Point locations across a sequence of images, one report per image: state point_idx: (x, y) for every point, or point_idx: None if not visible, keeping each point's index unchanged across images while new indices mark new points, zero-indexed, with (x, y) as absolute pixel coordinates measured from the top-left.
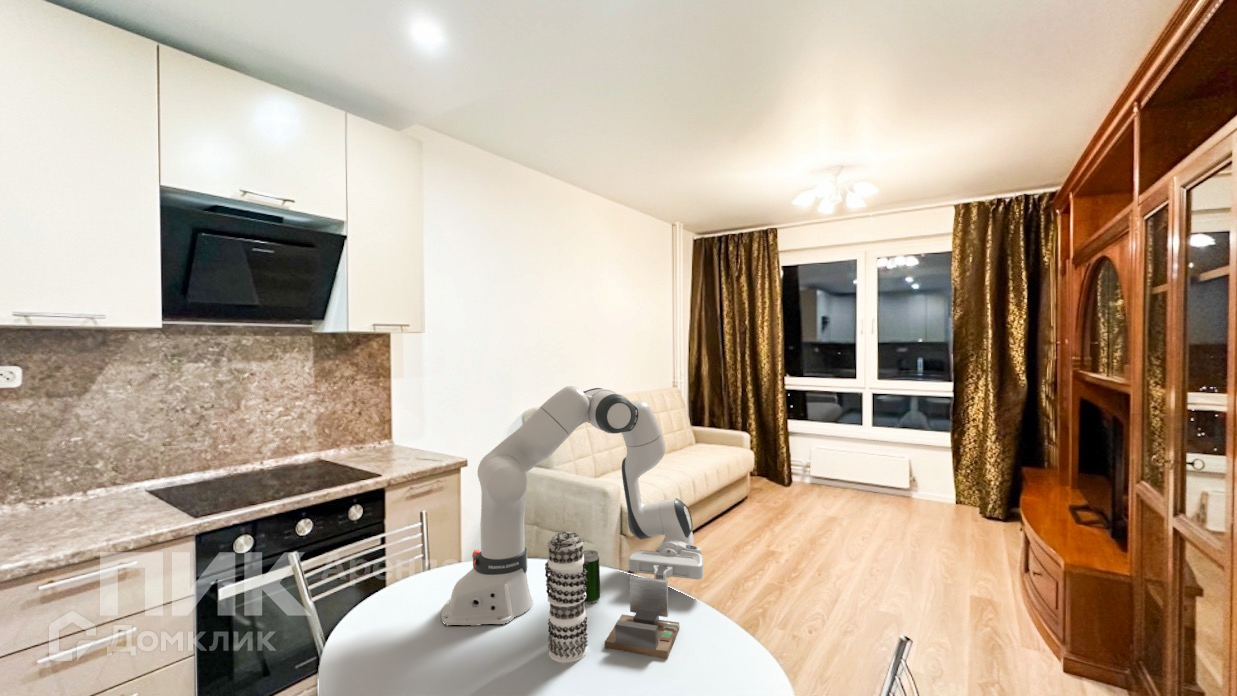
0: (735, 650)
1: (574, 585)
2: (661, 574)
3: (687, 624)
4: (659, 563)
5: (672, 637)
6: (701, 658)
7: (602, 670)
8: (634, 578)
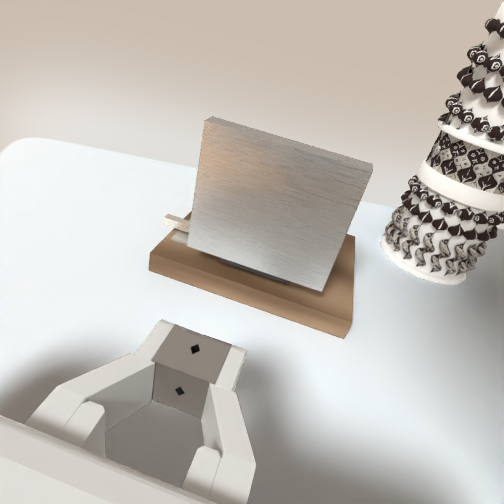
0: (35, 188)
1: (468, 72)
2: (188, 330)
3: (108, 285)
4: (177, 488)
5: (190, 214)
6: (134, 191)
7: None
8: (349, 158)
